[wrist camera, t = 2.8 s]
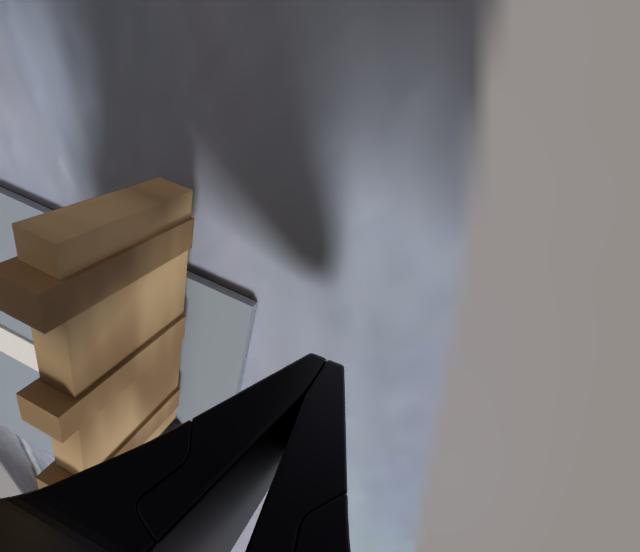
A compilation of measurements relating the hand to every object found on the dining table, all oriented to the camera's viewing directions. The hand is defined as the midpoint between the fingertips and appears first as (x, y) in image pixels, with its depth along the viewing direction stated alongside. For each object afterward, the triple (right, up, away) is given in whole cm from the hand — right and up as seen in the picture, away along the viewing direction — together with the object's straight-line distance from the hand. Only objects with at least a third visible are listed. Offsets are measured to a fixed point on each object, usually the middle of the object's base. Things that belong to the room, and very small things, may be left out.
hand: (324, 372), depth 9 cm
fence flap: (-5, +1, +3) cm, 6 cm away
